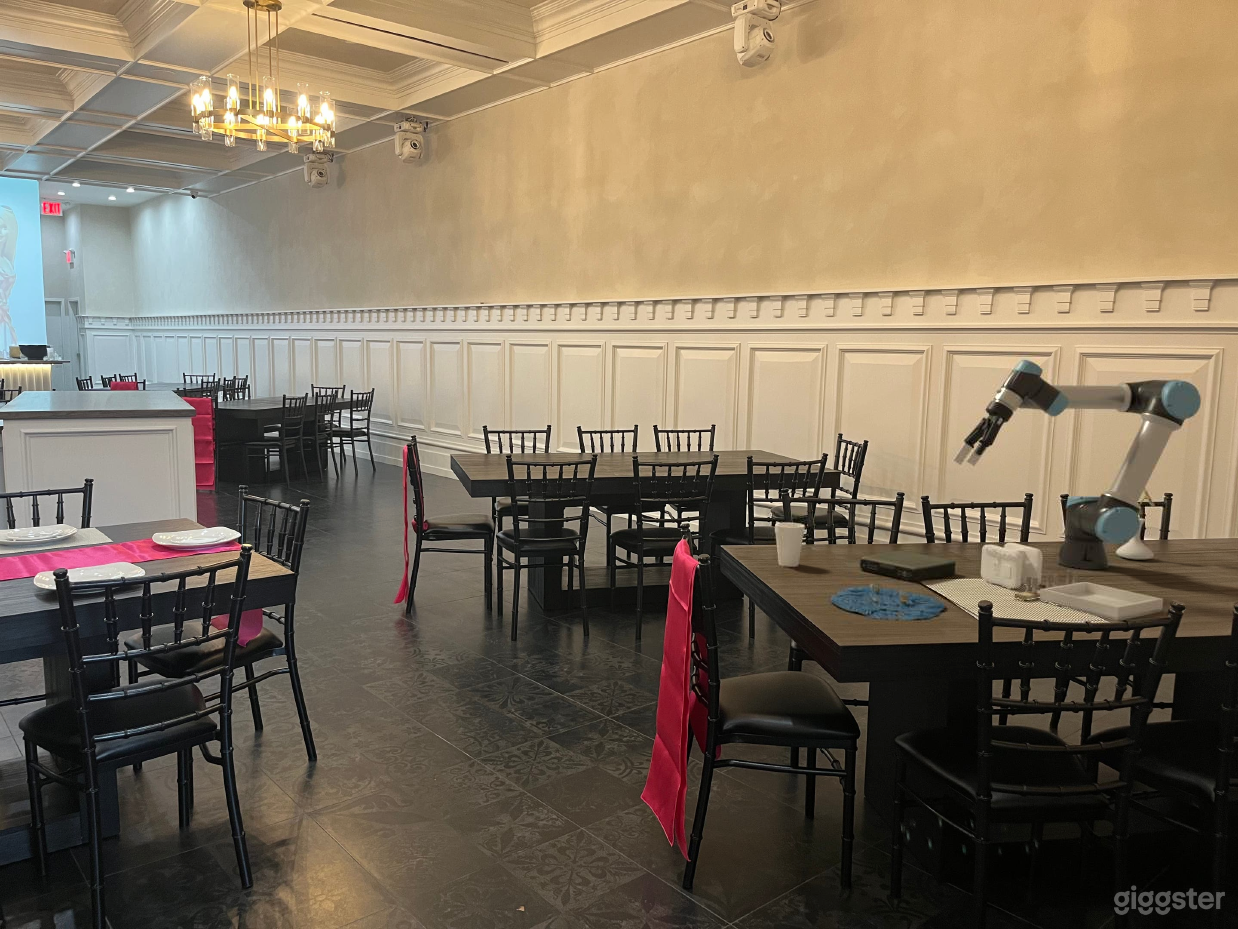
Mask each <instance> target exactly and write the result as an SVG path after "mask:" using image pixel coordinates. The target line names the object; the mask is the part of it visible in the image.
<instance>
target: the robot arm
mask: <svg viewBox="0 0 1238 929" xmlns="http://www.w3.org/2000/svg"><path fill="white" fill-rule="evenodd" d="M1042 374H1043V369H1042V368H1041V367H1040V365H1038V364H1037V363H1036V362H1034V361H1031V360H1028V359H1021V360H1020V361H1019V362H1017V364H1016V365H1015V366H1014V368H1013V369H1012V370H1011V372H1010V374H1009V375H1008V377H1007V378H1006V380H1005V381H1004V383H1003V384H1002V386H1001V387H1000V389H996V394H995V395H994V397H993V400H991V401H990V402H989V403H988V405H987V406H986V408H985V412H986V413H987V414H988V416H987V417H983V418H982V419H981V420H980V421H979V423H978V424H977V425H976V426H975V427H974V429H973V430H972V431H971V432H970V433H969V435H967V437H966V438H964V440H963V442H964V443H963V444H962V446H961V448H960V449H959V450H958V452H957V453H956V455H955V456H954V458H953V459H952V461H954V462H955V463H957V464H958V465H960V466H962V464H963V462H964V461H965V462H967V463H968V464H970V465H972V466H973V467H975V466H976V464H977V463H978V461H979V460H980V459H981V457H982V456H983V455H984V453H985V452H986V450H987V449H988V448H989V447H991V446H993V444H994V442H995V440H996V439H997V436H998V435H999V432H1000V430H1001V428H1002V426H1003V425H1004V423H1008V422H1009V421H1010V420H1011V418H1012V416H1013V415H1014V412H1016V411H1017V410H1018V408H1019V409H1029V410H1040V411H1042V412H1044V413H1045V414H1047V415H1048V416H1051V417H1057V416H1059V415H1061V414H1062V413H1063V412H1064V411H1065V410H1070V409H1072V410H1078V409H1079V410H1116V411H1117V412H1118V413H1131V414H1137V415H1140V417H1141V419H1142V423H1141V425H1140V428H1139V429H1138V432H1137V434H1136V436H1135V437H1134V439H1133V441H1132V444H1131V446H1130V448H1129V450H1128V452H1127V454H1126V455H1125V457H1124V460H1123V462H1122V464H1121V466H1120V468H1119V471H1117V474H1116V476H1115V478H1114V480H1113V482H1112V484H1111V486H1110V488H1109V490H1108V491H1105V492H1102V493H1101V494H1100V496H1080V495H1079V496H1075V495H1074V496H1073V495H1072V496H1069V497H1068V498H1067V501H1066V507H1065V509H1066V512H1065V529H1064V541H1063V543H1062V546H1061V548H1060V550H1059V553H1058V555H1057V560H1056V562H1057V564H1058V565H1060V564H1061V566H1063V567H1067V568H1072V567H1074V569H1079V568H1080V570H1093V571H1094V570H1095V571H1096V570H1107V569H1109V566H1110V564H1109V563H1110V560H1109V557H1108V553H1107V550H1106V545H1105V543H1110V544H1123V543H1124V544H1125V543H1128V542H1129V541H1130V540H1131V539H1132V538H1133V537H1134V536H1135V535H1136V534H1137V532H1138V530H1139V528H1140V521H1139V518H1140V517H1139V515H1138V513H1139V511H1140V508H1141V505H1140V503H1139V501H1140V499H1141V496H1142V495H1143V493H1144V492H1143V490H1144V488H1145V489H1146V486H1147V485H1148V482H1149V480H1150V478H1151V477H1152V474H1153V472H1154V470H1155V468H1156V465H1157V464H1158V462H1159V460H1160V458H1161V456H1162V454H1163V452H1164V450H1165V448H1166V446H1167V444H1168V442H1169V439H1170V438H1171V436H1172V434H1173V432H1175V431H1179V430H1180V429H1181V428H1182V426H1183V425H1184V423H1185V420H1187V419H1190V418H1191V417H1194V416H1195V415H1196V414H1197V413H1198V412H1199V410H1200V408H1201V405H1202V404H1201V403H1202V398H1201V395H1200V392H1199V390H1198V388H1197V387H1196V386H1195V385H1194V384H1193V383H1191V382H1189V381H1185V380H1180V379H1168V380H1167V379H1149V380H1144V381H1143V380H1141V381H1134V382H1120V383H1118V384H1117V385H1072V384H1071V385H1065V384H1064V385H1060V384H1059V385H1058V384H1057V385H1054V384H1053V385H1052V384H1051V383H1049V382H1047V381H1046V380H1044V379H1043V378H1042ZM975 444H977V445H976V446H975ZM969 453H970V454H969ZM968 455H969V456H968ZM967 457H968V458H967ZM966 458H967V459H966ZM965 459H966V460H965ZM1139 505H1140V506H1139Z"/></svg>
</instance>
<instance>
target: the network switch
mask: <svg viewBox="0 0 1238 929" xmlns="http://www.w3.org/2000/svg"><path fill="white" fill-rule="evenodd" d="M859 567H860V571H862V572H865V571H866V572H865V573H870V572H871V573H870V574H875V573H876V574H877V575H883V576H888V577H892V578H898V579H900V580H901V579H902V580H903V581H905V582H910V583H911V582H912V583H919V582H923V581H922V580H924V581H928V579H929V580H933V578H934V579H940V578H944V577H949V576H954V575H955V574H956V561H955V560H951V559H948V558H943V557H937V556H931V555H928V554H927V555H926V554H920V553H915V552H911V551H905V550H902V549H901V550H895V551H889V552H883V553H878V554H873V555H865V556H862V557H861V558H860V561H859Z"/></svg>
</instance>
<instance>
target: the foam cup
mask: <svg viewBox="0 0 1238 929" xmlns="http://www.w3.org/2000/svg"><path fill="white" fill-rule="evenodd" d="M805 528H806V527H805V524H804V523H803V524H802V523H797V522H778V523H775V525H774V533H775V541H776V548H777V549H776V551H777V560H778V565H779V566H783V567H788V568H789V567H793V568H794V567H798V566H799V564H800V557H801V553H802V552H801V550H802V545H803V540H804V534H805Z"/></svg>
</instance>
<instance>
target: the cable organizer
mask: <svg viewBox="0 0 1238 929" xmlns="http://www.w3.org/2000/svg"><path fill="white" fill-rule="evenodd" d="M980 564H981V567H980V576H981V578H982V579H983V581H986V580H987V581H990V582H992V583H996V584H995V585H998V584H999V585H1000V586H1001V585H1002V586H1006V587H1008V588H1012V589H1019V588H1020V587H1021V584H1023V583H1024V584H1026V576H1031V586H1032V583H1033V578H1038V583H1037V587H1038V586H1040V585H1041V583H1042V570H1043V553H1042V551H1041V550H1040V549H1039V548H1035V547H1033V546H1028V545H1023V544H1020V543H1015V542H1006V543H1005V544H1004V546H1003V547H1001V546H1000V545H999V546H998V545H996V544H985V545H983V547H982V549H981V562H980ZM987 581H986V582H987ZM1024 584H1023V585H1024Z"/></svg>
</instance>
